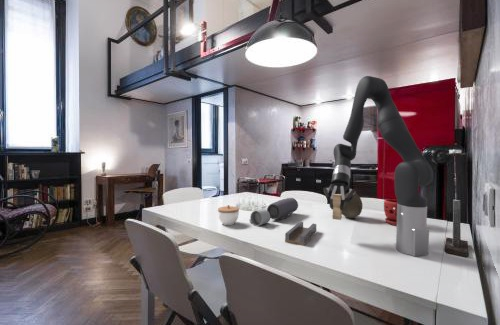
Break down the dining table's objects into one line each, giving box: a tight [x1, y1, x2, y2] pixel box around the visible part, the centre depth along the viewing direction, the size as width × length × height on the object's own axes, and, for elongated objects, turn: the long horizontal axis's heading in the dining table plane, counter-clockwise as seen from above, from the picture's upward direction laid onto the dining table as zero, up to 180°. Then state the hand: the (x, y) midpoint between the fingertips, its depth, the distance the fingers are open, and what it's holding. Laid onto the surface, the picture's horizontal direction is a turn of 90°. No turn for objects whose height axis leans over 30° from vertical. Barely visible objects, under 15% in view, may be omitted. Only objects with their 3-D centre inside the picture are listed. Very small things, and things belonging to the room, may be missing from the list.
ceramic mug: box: [248, 209, 271, 227], centre depth 126 cm, size 11×8×8 cm
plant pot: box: [383, 199, 397, 227], centre depth 127 cm, size 13×13×12 cm
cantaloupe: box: [342, 192, 363, 219], centre depth 139 cm, size 14×14×15 cm
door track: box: [284, 221, 318, 246], centre depth 107 cm, size 20×8×4 cm, turn 152°
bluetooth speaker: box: [266, 197, 299, 220], centre depth 140 cm, size 23×9×10 cm, turn 145°
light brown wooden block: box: [332, 194, 343, 221], centre depth 103 cm, size 4×3×10 cm
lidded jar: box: [217, 205, 240, 226], centre depth 126 cm, size 11×11×9 cm
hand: (336, 208), depth 101 cm, fingers closed on light brown wooden block, 3 cm apart
